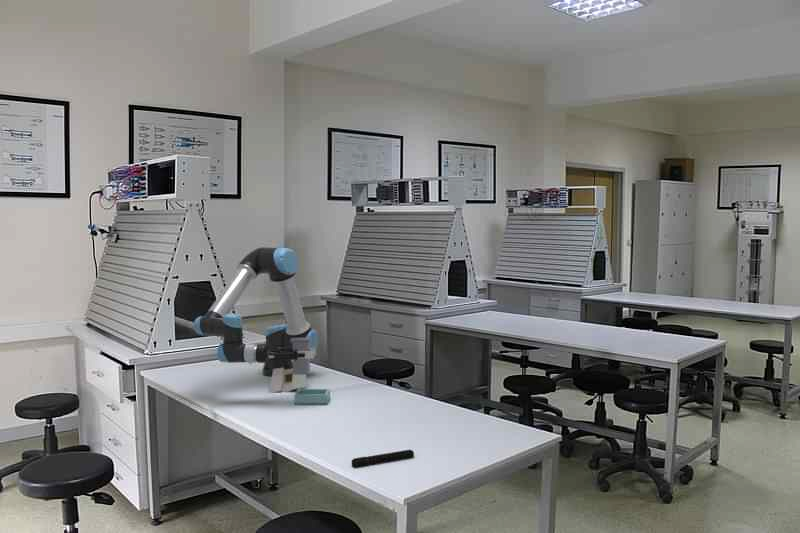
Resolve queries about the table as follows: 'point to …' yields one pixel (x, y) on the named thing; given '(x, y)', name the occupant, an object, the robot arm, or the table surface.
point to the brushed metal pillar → (301, 364)
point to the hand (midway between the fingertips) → (314, 353)
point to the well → (312, 397)
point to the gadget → (382, 458)
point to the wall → (286, 380)
